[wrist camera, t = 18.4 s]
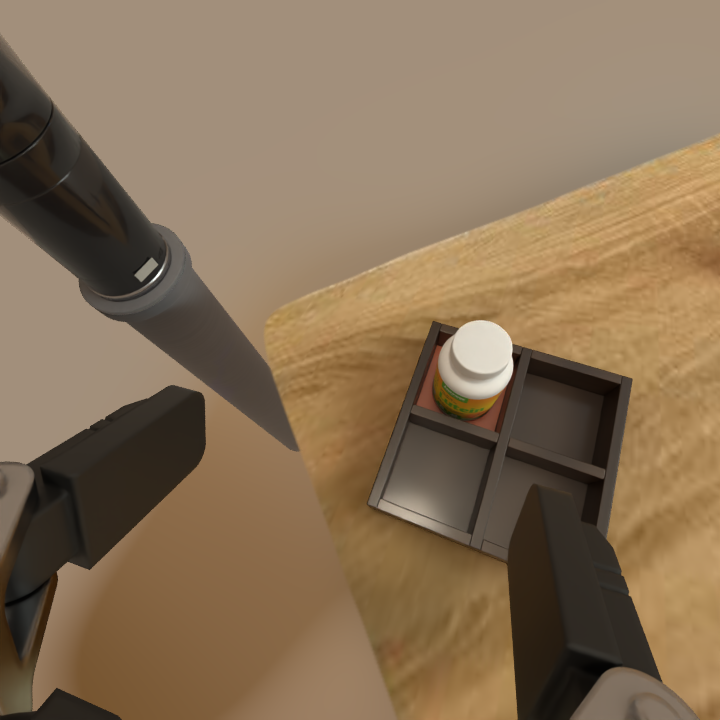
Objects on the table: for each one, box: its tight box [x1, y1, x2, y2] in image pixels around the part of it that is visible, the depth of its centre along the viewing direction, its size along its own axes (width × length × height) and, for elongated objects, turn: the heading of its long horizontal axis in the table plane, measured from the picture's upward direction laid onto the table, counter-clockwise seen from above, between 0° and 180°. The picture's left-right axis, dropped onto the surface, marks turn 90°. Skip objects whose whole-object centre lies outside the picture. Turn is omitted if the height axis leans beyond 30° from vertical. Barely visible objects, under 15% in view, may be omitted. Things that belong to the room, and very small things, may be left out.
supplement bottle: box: [433, 320, 513, 421], centre depth 32 cm, size 5×5×10 cm
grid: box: [367, 321, 633, 563], centre depth 34 cm, size 16×16×4 cm
